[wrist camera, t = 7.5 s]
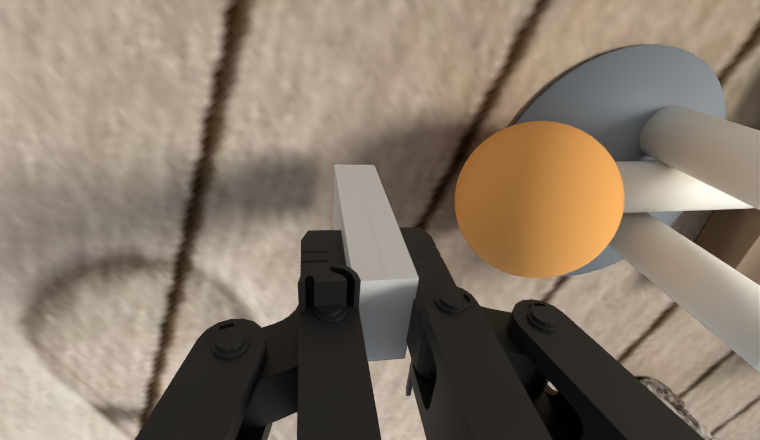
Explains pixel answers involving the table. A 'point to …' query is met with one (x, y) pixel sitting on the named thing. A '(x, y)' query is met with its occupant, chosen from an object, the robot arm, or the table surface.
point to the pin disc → (627, 105)
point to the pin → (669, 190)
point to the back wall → (734, 240)
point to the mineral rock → (676, 406)
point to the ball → (539, 199)
